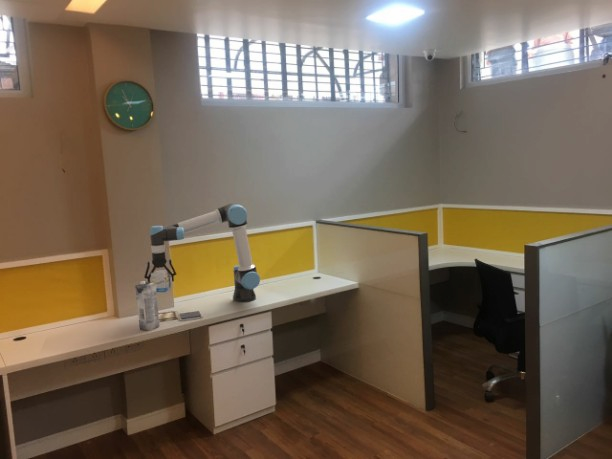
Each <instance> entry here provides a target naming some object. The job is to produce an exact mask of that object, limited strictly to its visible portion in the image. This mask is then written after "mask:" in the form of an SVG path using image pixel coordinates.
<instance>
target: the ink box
mask: <svg viewBox="0 0 612 459" xmlns="http://www.w3.org/2000/svg"><path fill="white" fill-rule="evenodd" d="M170 276H171V275H170V274H169V272H168V271H167V270H166V269H159V270H157V269H156V270H154V272H153V273H151V277H150V278H151V282H154V283H156V292H157V293H166V292H168V291H170V290H172V288H171V282H170Z"/></svg>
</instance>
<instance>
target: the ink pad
mask: <svg viewBox="0 0 612 459" xmlns="http://www.w3.org/2000/svg"><path fill="white" fill-rule="evenodd" d="M177 314H178V317H179V319H178V320H180V322H183V321H191V319H192V320H197V318H199V319H203V314H202V313H201V311H199V310H197V311H196V310H195V311H189V312H188V311H187V312H183V313H177Z"/></svg>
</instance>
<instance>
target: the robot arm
mask: <svg viewBox="0 0 612 459" xmlns="http://www.w3.org/2000/svg"><path fill="white" fill-rule="evenodd" d="M247 220H248V211H247V208H245V207H244V206H242V205H241V204H237V203H228V204H226V205H223V206H221V207H218V208H216V209H215V210H214V211H210V212H208V213H205V214H201V215H198V216H195V217H192V218H189V219H186V220H183V221H180V222H177V223H173V224H169V225H166V226H165V227H164V226H163V225H152V226H150V228H149V237H150V245H151V246H150V247H151V256H152V259H151V260H152V261H148V260H147V263H146V264H147V265H146V268H145V269H146V270H145V274H144V277H143V278H144V279H147V282H151V273H153V272H155V271H156V270H157V269H160V268H164V270H167V271H168V272H169V274H170V282H171V289H172V288H173V282H174V280H175V277H174V276H177V272H176V270H175V268H174V266H173V263H172V259H171V258H169V259H166V252H165V251H166V248H165V247H166V246H165V242H170V241H171V242H172V241H181V240H182V241H183V240H184V239H185V234H187V233H190V232H193V231H197V230H199V229H202V228H203V229H204V228H206V227H209V226H211V225H215V224H218V223H220V224H222V223H227V225H228V228H229V229H230V230H231V232H232V237H233V242H234V247H235V252H236V257H237V261H238V265H234V266H233V280H234V281H233V282H234V290H233V293H232V294H233V295H232V301H233V302H235V303H248V302H252V301H255V300H256V299H257V295H256V292H255V288H257V287H258V286H259V285H260V282H261V277H260V274H259V273H258V272H257V271H258V270H257V267H256V265H255V264H254V263H253V258H252V253H251V247H250V243H249V238H248V233H247V228H246V227H247V226H248V221H247ZM166 264H169V266H170V268H171V270H172V271H171V270H170V269H169V267H168V266H167V265H166ZM152 265H153V266H152ZM150 266H152V269H151V270H150ZM149 270H150V272H149ZM172 272H173V273H172Z"/></svg>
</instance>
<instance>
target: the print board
mask: <svg viewBox="0 0 612 459" xmlns="http://www.w3.org/2000/svg"><path fill="white" fill-rule="evenodd" d="M158 313H159V323H161V322H168V321H175V320H180V319H179V316H178V314H179V313H178V312H177V311H176V310H173V311H172V310H171V311H165V312H158Z"/></svg>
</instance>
